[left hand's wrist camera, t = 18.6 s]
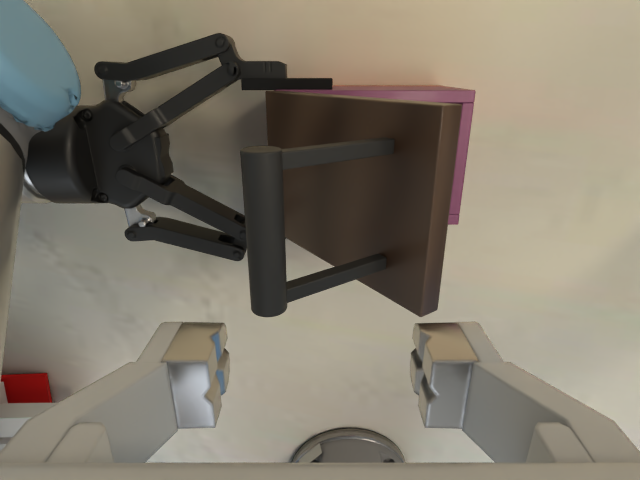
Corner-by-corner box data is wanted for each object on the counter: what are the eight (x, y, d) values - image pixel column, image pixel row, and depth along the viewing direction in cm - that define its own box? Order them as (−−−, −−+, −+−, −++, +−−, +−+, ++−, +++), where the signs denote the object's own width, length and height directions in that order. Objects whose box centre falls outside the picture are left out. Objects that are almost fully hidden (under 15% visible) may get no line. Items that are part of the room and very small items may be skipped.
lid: (463, 104, 18) (280, 116, 13) (437, 310, 21) (289, 378, 17) (281, 90, 29) (149, 94, 24) (285, 226, 33) (171, 252, 28)
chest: (439, 85, 38) (476, 90, 29) (429, 192, 42) (458, 224, 33) (283, 85, 38) (273, 90, 29) (286, 193, 42) (279, 225, 33)
